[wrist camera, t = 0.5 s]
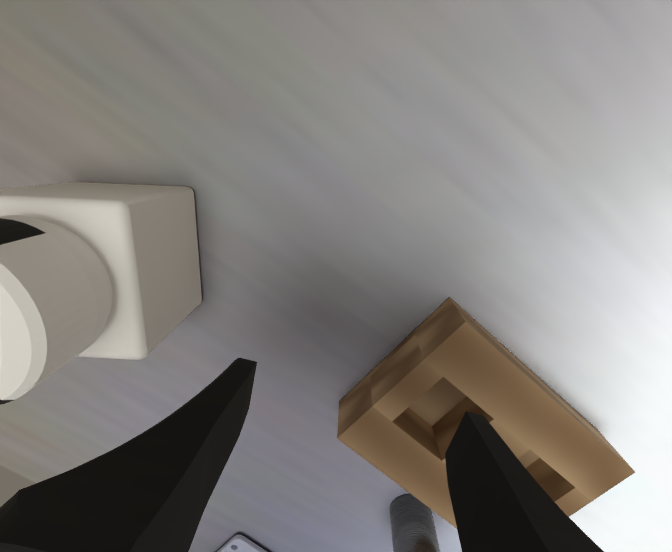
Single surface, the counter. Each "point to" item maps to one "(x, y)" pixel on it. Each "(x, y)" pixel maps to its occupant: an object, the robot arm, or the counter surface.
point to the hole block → (476, 397)
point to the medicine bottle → (91, 274)
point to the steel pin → (412, 526)
